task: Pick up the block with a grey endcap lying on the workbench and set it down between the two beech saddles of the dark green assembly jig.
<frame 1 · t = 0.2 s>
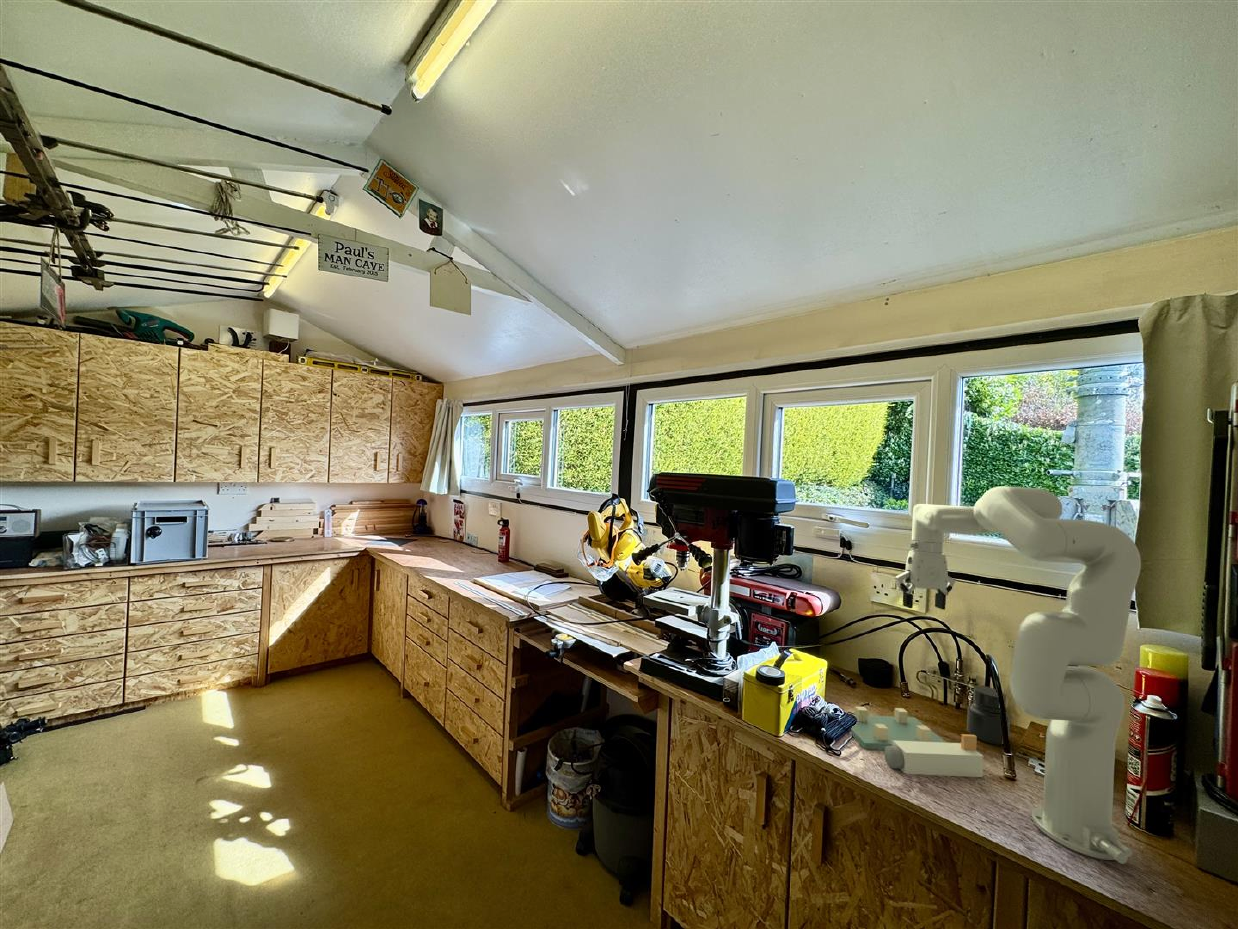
hand: (923, 607, 137), 31 cm above the workbench, tool pointing down, fingers open, 9 cm apart
block with grey endcap: (936, 769, 111), on the workbench
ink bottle: (987, 737, 127), on the workbench
jig: (890, 735, 125), on the workbench
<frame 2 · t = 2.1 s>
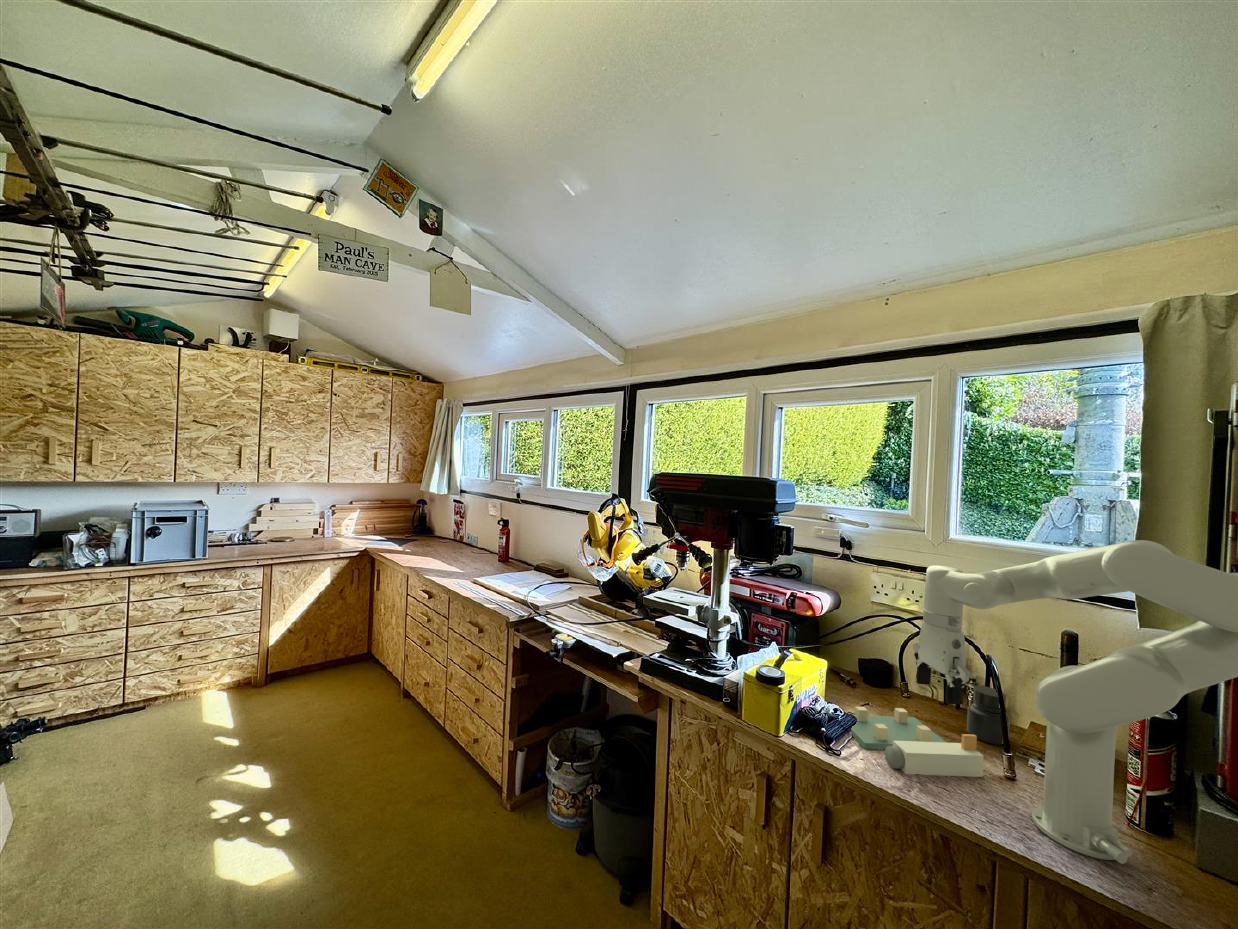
hand: (937, 693, 112), 17 cm above the workbench, tool pointing down, fingers open, 9 cm apart
nothing on the workbench moved.
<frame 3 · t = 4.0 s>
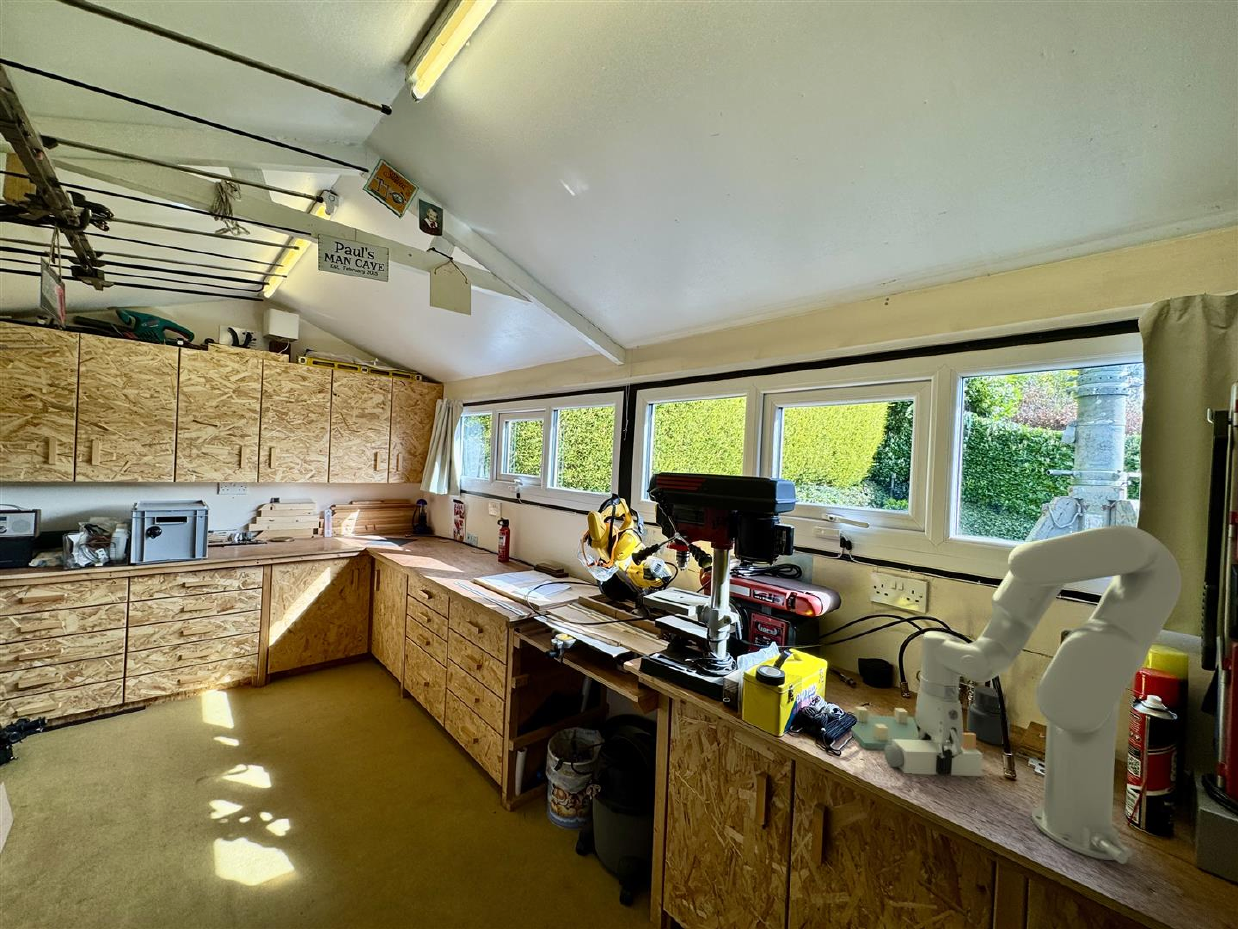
hand: (934, 765, 112), 1 cm above the workbench, tool pointing down, fingers closed on block with grey endcap, 5 cm apart
block with grey endcap: (935, 768, 112), on the workbench, touching gripper
everything else where it was.
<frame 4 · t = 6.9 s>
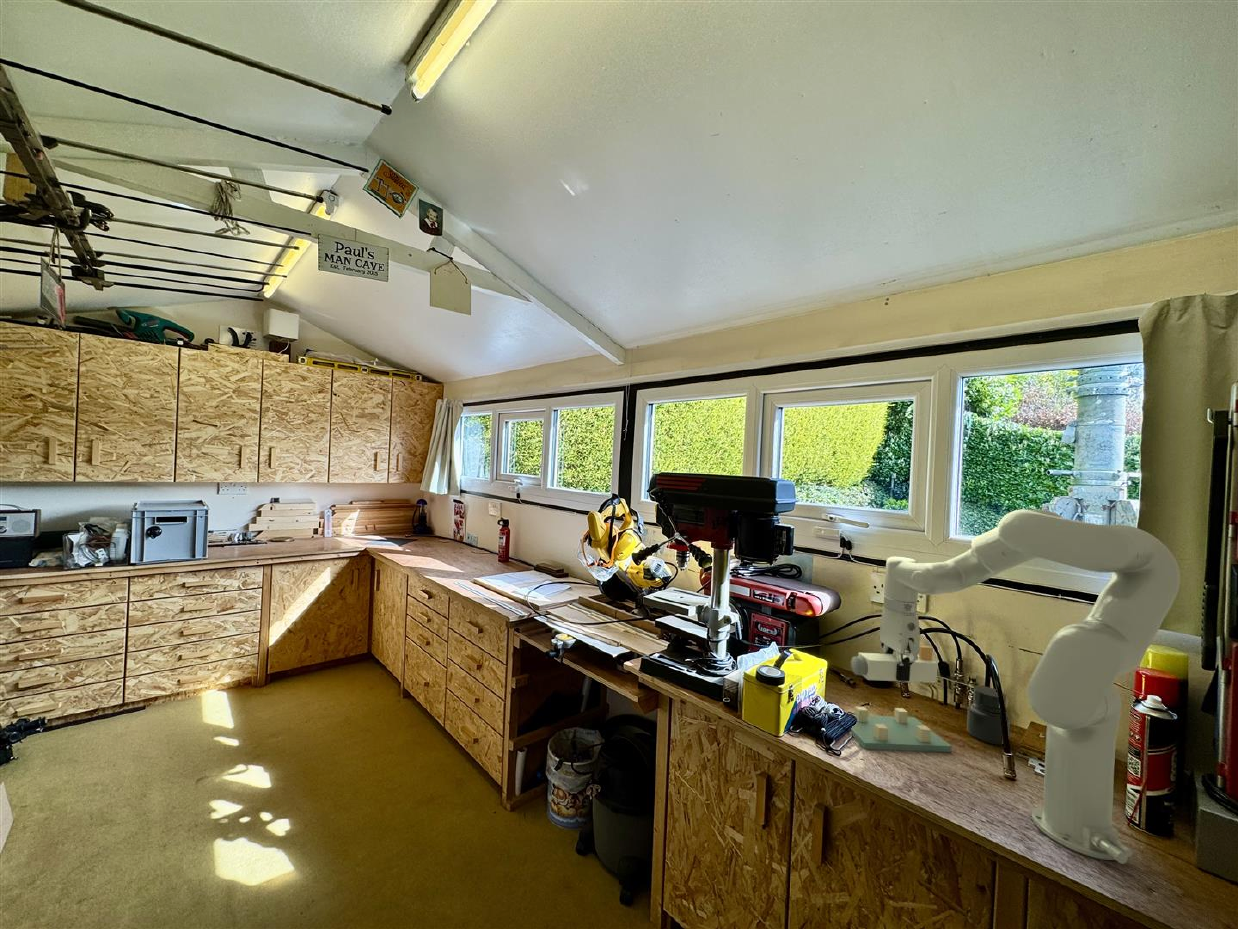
hand: (895, 674, 125), 16 cm above the workbench, tool pointing down, fingers closed on block with grey endcap, 5 cm apart
block with grey endcap: (896, 677, 125), point 15 cm above the workbench, touching gripper
everything else where it was.
when the fingers open (3 cm above the workbench, at t = 9.8 s): block with grey endcap stays where it is, resting on jig.
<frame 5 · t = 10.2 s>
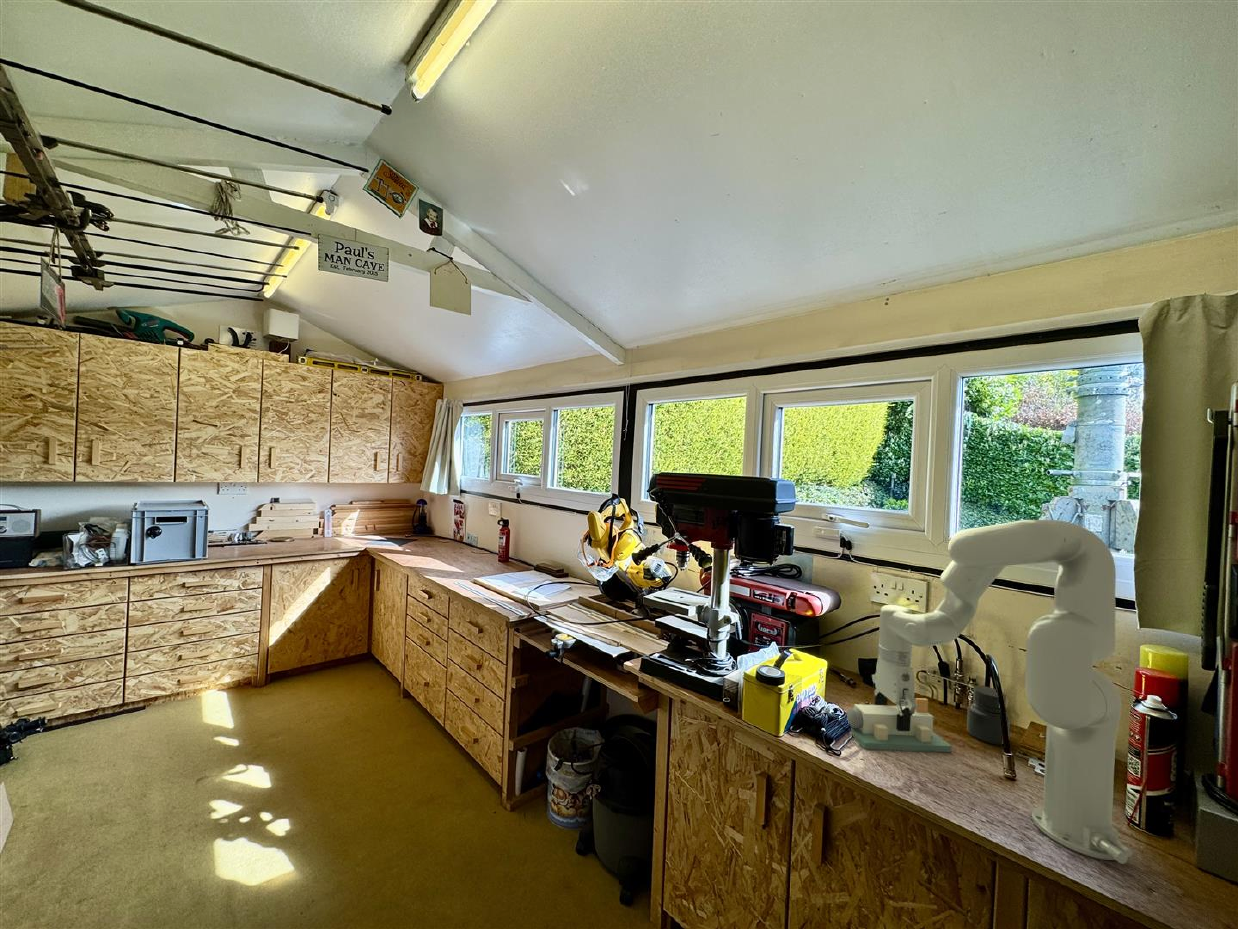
hand: (891, 720, 125), 4 cm above the workbench, tool pointing down, fingers open, 9 cm apart
block with grey endcap: (892, 729, 125), point 1 cm above the workbench, touching jig
everything else where it was.
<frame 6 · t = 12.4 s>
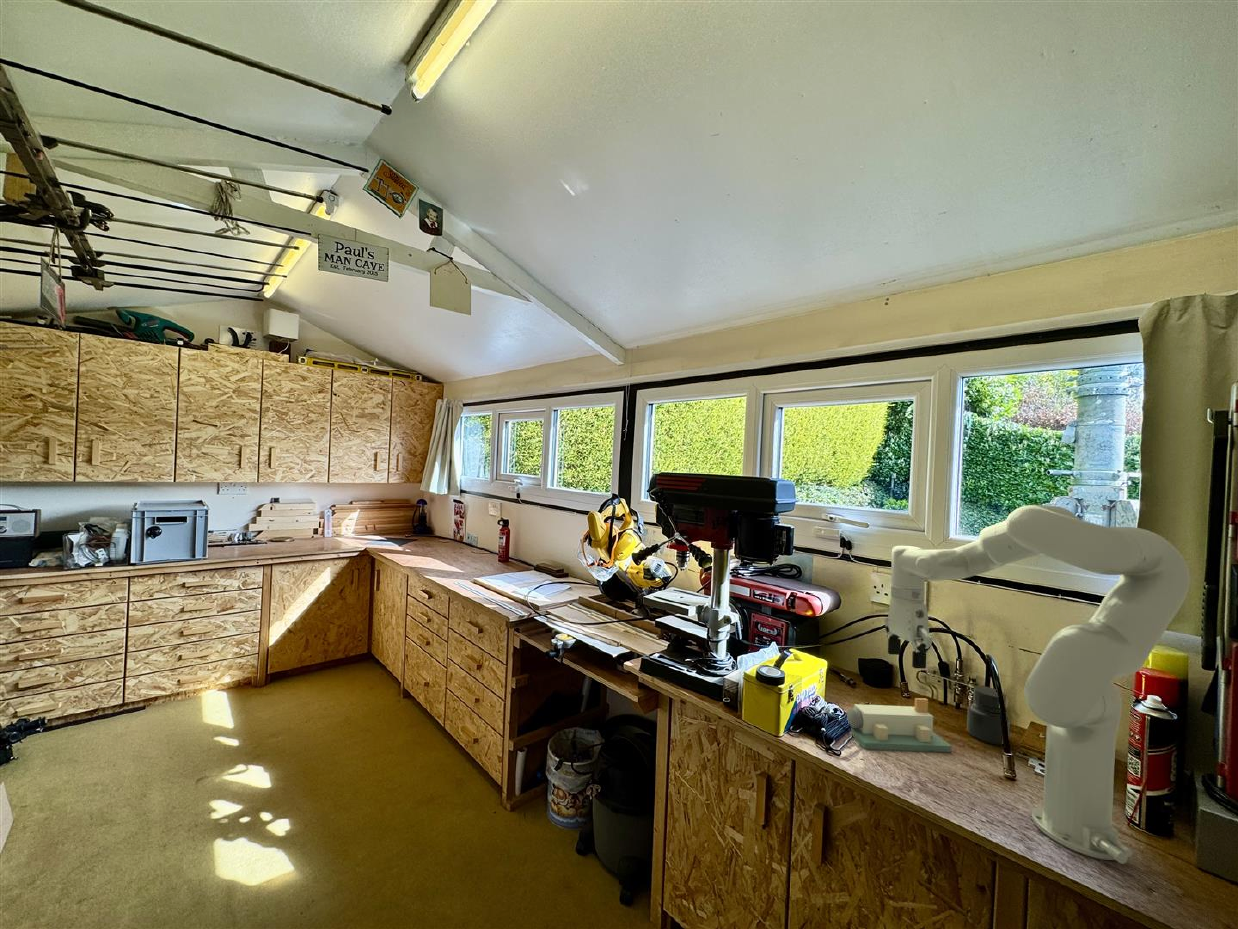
hand: (906, 660, 125), 20 cm above the workbench, tool pointing down, fingers open, 9 cm apart
nothing on the workbench moved.
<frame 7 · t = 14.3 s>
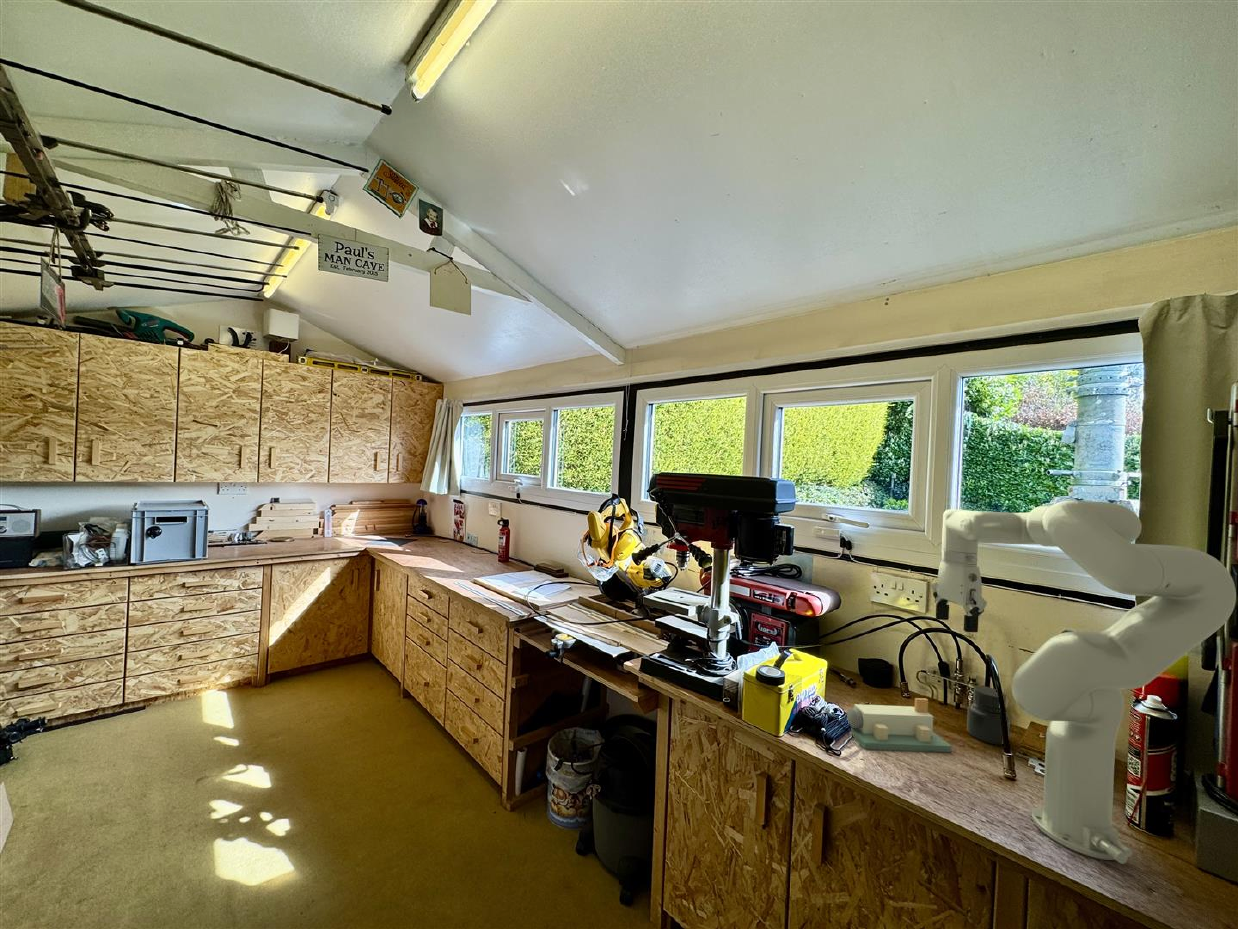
hand: (955, 625, 122), 30 cm above the workbench, tool pointing down, fingers open, 9 cm apart
nothing on the workbench moved.
at the end: block with grey endcap 0.2 cm off-centre on the jig, point 1.5 cm above the jig's base; block with grey endcap tilted 0°; the gripper is holding nothing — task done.
